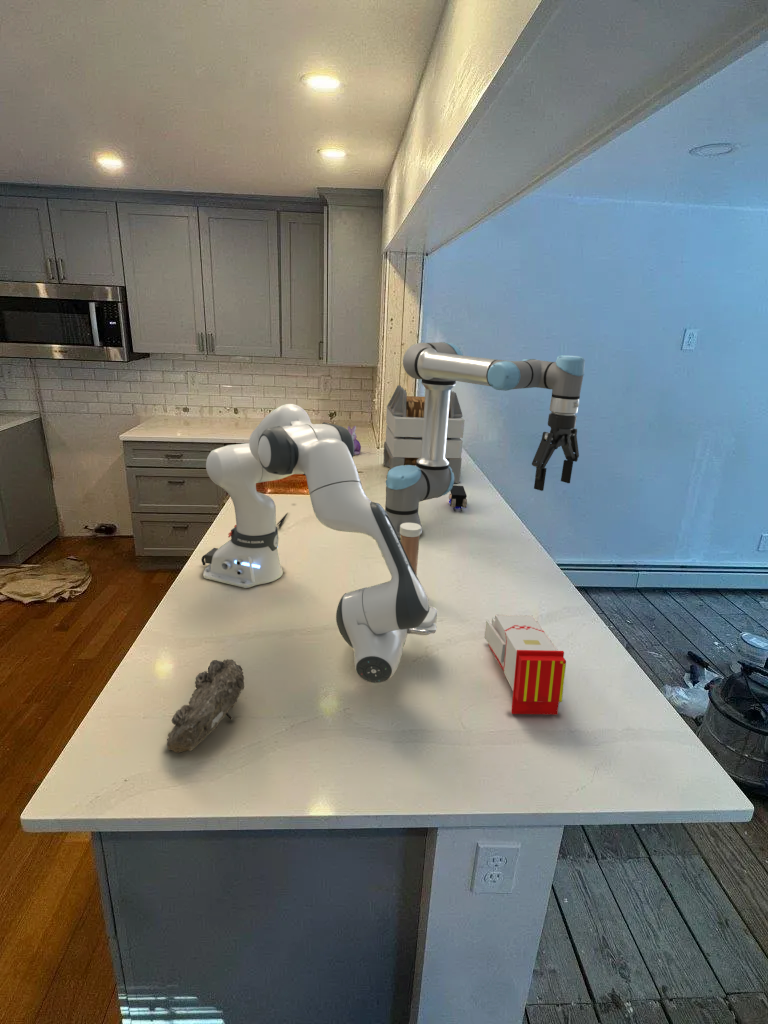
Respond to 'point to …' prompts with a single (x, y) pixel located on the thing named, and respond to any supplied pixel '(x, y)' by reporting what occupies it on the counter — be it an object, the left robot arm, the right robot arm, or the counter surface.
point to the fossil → (206, 705)
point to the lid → (410, 529)
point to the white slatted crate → (419, 431)
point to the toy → (527, 663)
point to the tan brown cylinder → (411, 550)
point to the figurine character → (458, 497)
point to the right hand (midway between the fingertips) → (552, 485)
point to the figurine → (355, 440)
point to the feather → (281, 520)
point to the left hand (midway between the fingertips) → (397, 599)
